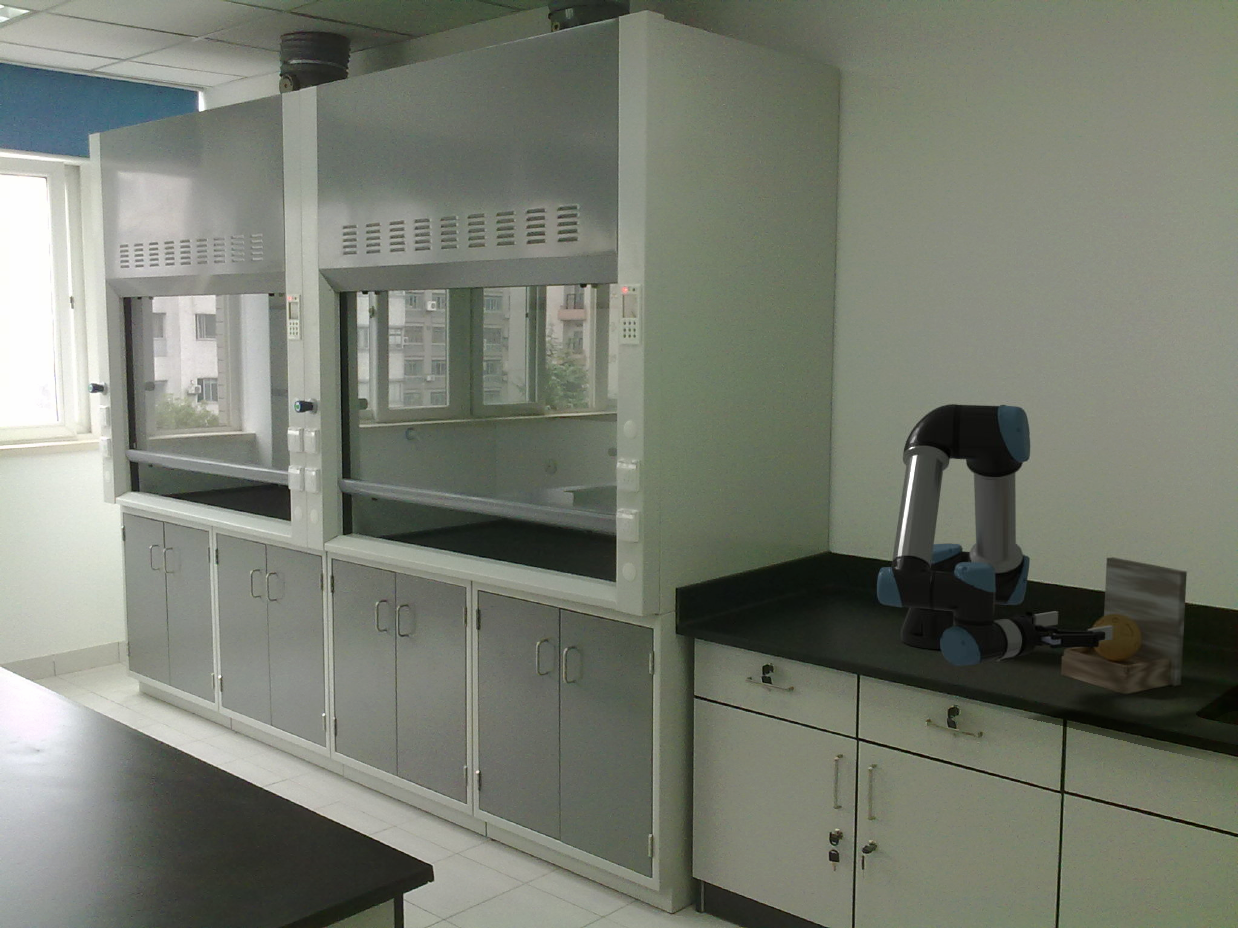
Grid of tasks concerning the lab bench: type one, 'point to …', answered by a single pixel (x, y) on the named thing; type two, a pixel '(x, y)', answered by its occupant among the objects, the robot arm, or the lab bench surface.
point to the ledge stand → (1160, 618)
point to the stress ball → (1119, 638)
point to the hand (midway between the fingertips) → (1083, 624)
